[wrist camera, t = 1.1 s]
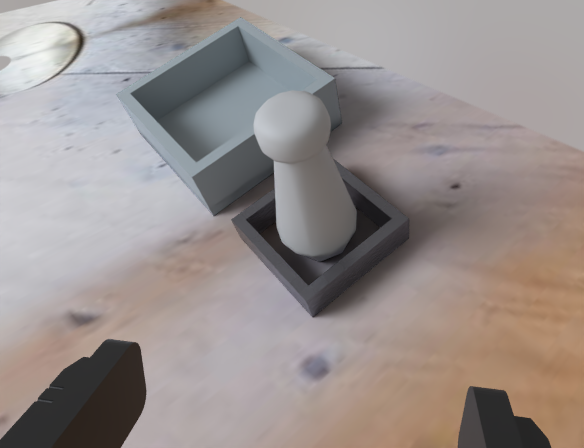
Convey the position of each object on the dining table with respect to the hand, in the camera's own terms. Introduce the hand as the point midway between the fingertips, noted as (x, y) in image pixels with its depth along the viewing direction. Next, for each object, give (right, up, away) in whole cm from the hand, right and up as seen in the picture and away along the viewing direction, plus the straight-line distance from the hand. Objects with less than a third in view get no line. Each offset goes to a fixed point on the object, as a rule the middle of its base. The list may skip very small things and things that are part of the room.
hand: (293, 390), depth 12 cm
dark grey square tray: (+2, +3, +25) cm, 25 cm away
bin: (-5, +13, +34) cm, 37 cm away
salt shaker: (+2, +3, +25) cm, 26 cm away
